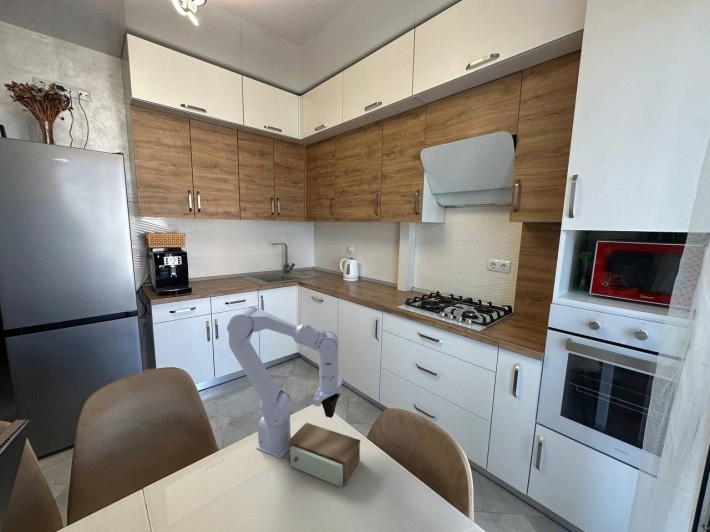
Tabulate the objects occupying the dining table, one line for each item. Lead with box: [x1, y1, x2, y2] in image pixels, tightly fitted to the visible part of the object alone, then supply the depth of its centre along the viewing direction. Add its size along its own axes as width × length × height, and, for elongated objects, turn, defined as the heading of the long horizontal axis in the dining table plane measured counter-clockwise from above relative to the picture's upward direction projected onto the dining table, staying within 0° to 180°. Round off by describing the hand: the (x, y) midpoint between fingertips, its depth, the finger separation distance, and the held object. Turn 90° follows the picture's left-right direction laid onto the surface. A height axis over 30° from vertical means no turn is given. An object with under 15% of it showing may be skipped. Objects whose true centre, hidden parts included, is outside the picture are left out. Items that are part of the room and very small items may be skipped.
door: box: [290, 446, 344, 488], centre depth 78 cm, size 16×2×6 cm, turn 65°
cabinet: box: [288, 422, 361, 486], centre depth 83 cm, size 18×9×6 cm, turn 65°
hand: (329, 415), depth 89 cm, fingers closed
